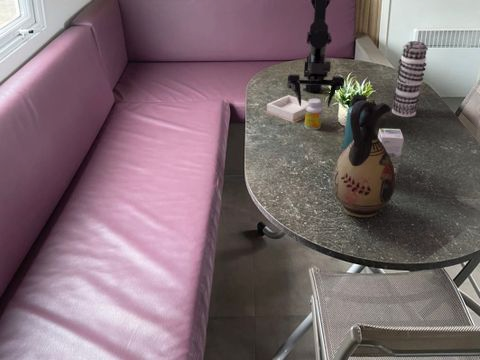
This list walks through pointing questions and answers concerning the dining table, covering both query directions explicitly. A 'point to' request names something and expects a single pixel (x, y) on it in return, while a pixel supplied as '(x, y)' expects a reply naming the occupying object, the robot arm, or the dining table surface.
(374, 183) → the ceramic jug
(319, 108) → the supplement bottle
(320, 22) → the robot arm
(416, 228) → the dining table surface
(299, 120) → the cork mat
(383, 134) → the syrup box
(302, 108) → the dish
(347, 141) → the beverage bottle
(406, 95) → the white banded cylinder
